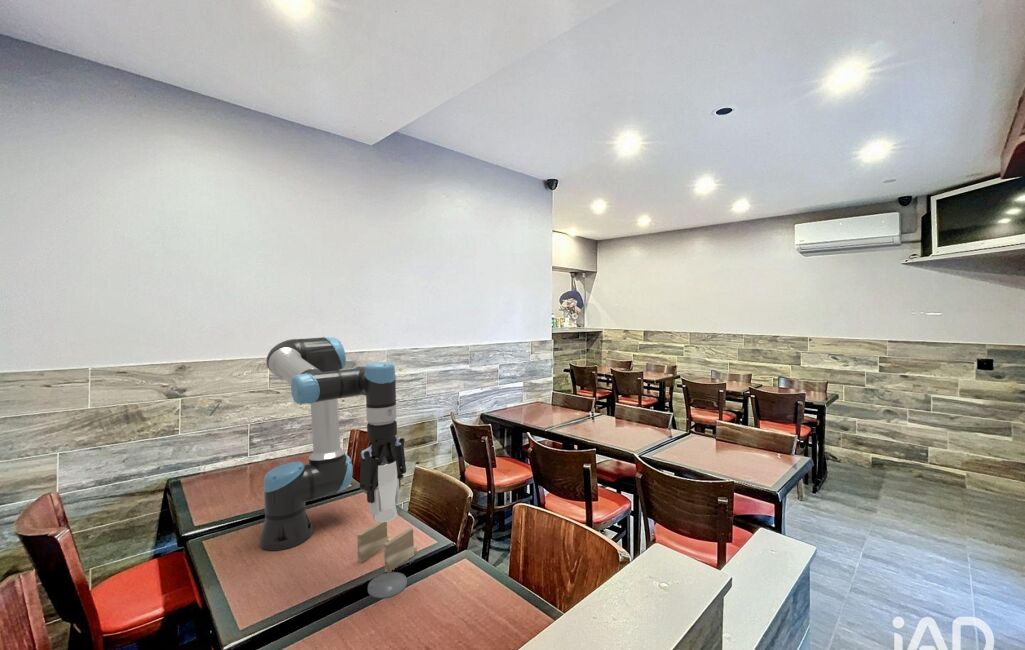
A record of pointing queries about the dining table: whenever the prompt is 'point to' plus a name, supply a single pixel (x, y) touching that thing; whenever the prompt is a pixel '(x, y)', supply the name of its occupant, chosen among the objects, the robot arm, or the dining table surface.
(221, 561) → the dining table surface
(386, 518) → the beer glass
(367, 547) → the rack
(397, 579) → the coaster
